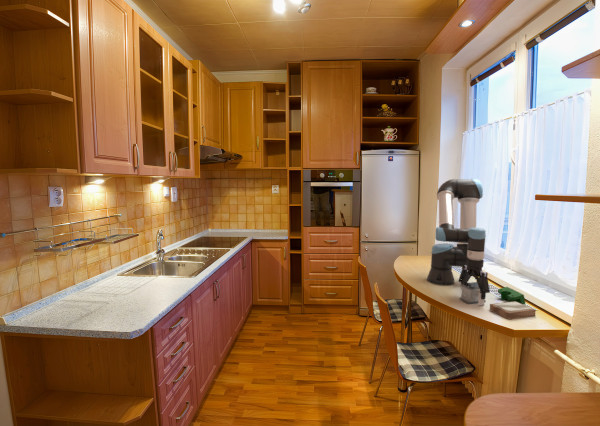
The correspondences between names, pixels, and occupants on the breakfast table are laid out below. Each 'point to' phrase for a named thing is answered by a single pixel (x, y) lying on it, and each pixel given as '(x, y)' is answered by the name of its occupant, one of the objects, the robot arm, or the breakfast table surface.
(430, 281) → the robot arm
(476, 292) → the block
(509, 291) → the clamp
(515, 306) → the stand
